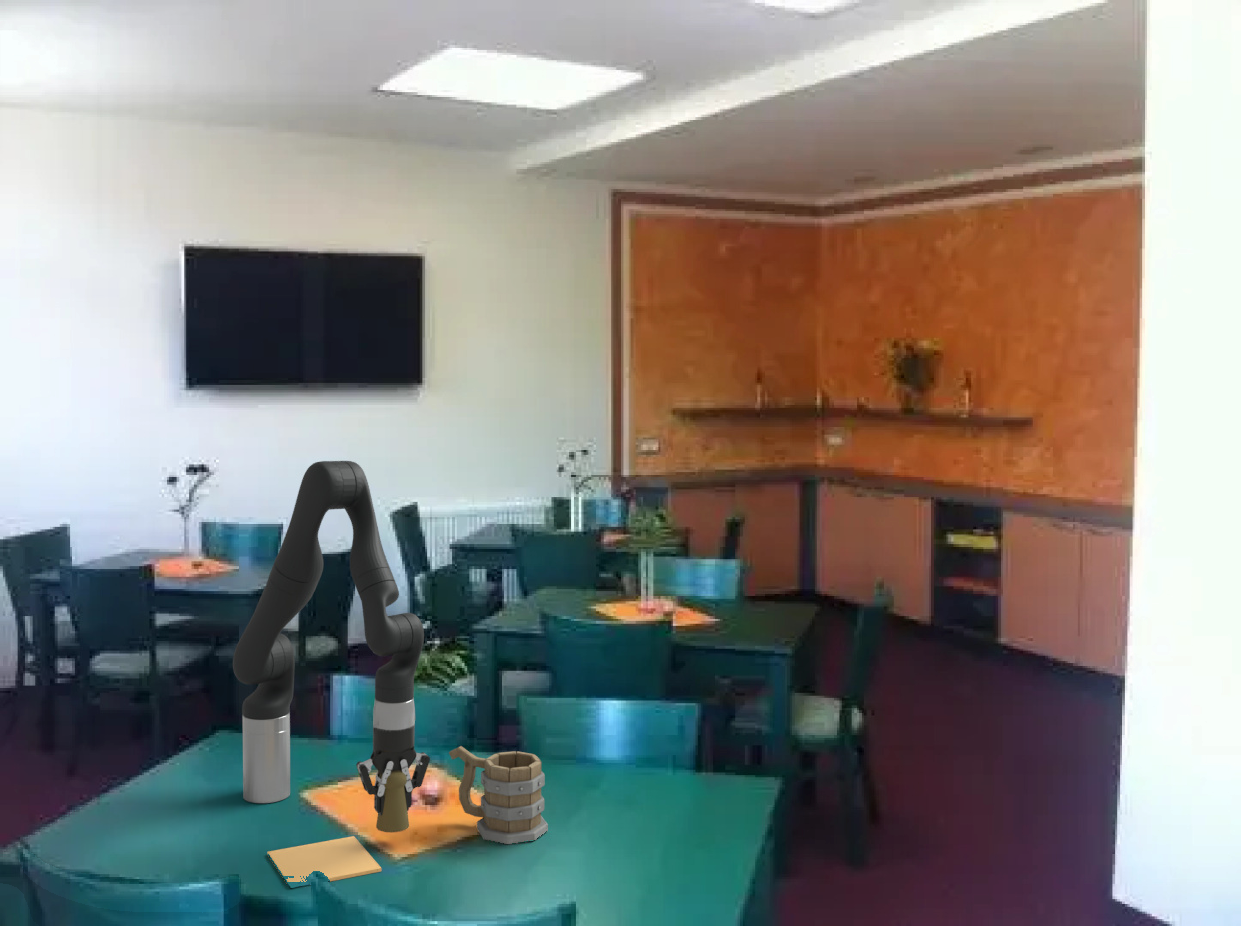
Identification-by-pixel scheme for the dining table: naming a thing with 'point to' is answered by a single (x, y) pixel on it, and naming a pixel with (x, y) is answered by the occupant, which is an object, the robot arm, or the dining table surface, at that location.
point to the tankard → (505, 795)
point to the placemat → (325, 860)
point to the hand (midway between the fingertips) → (392, 811)
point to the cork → (394, 804)
